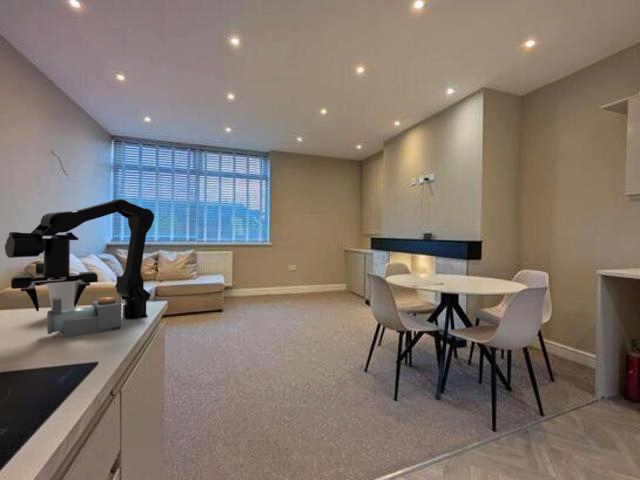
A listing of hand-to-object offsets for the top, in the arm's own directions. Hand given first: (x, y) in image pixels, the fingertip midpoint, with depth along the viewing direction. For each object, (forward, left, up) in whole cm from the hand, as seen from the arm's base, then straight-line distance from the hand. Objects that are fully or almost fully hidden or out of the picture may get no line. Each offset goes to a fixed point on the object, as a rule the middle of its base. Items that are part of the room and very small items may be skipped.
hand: (56, 308), depth 88 cm
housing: (-7, 0, -8) cm, 11 cm away
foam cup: (-4, -27, -8) cm, 29 cm away
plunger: (-12, 0, -3) cm, 12 cm away
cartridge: (-3, 0, -7) cm, 8 cm away
